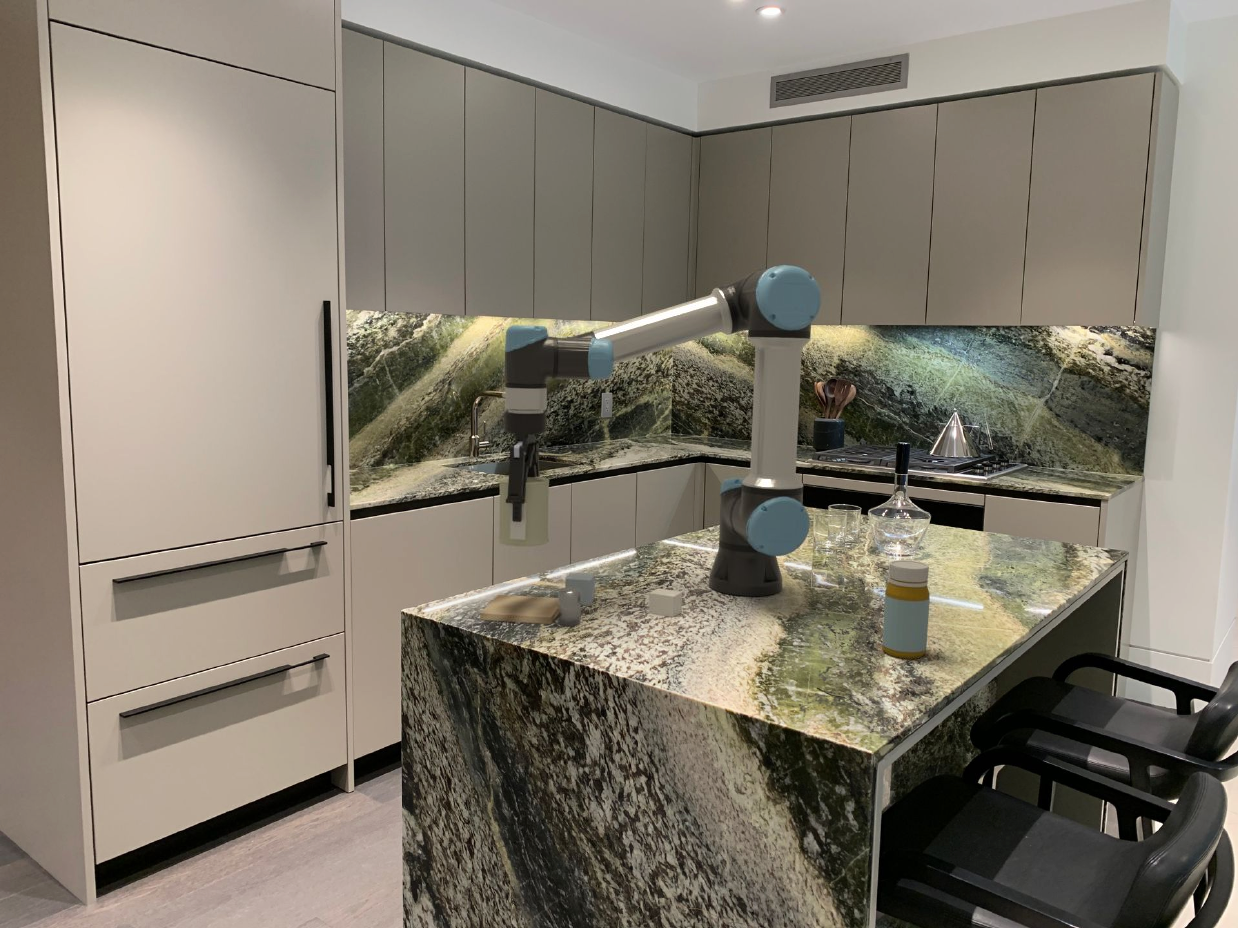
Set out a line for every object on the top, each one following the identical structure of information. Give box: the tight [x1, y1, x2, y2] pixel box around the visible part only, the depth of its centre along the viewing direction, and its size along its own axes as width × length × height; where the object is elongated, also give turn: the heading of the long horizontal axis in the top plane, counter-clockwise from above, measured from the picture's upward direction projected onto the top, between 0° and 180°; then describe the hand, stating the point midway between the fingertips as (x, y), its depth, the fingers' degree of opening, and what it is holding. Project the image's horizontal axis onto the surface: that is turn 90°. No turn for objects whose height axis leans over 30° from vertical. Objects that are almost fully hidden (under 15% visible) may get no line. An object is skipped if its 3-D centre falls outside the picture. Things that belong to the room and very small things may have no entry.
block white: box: [648, 587, 683, 618], centre depth 180 cm, size 5×4×4 cm
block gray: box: [564, 572, 596, 606], centre depth 187 cm, size 5×5×5 cm
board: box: [479, 594, 558, 625], centre depth 179 cm, size 13×13×1 cm
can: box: [498, 476, 550, 548], centre depth 176 cm, size 9×9×12 cm
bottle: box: [881, 559, 930, 660], centre depth 159 cm, size 7×7×15 cm
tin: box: [557, 587, 582, 627], centre depth 172 cm, size 4×4×6 cm
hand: (523, 533), depth 177 cm, fingers closed on can, 9 cm apart
